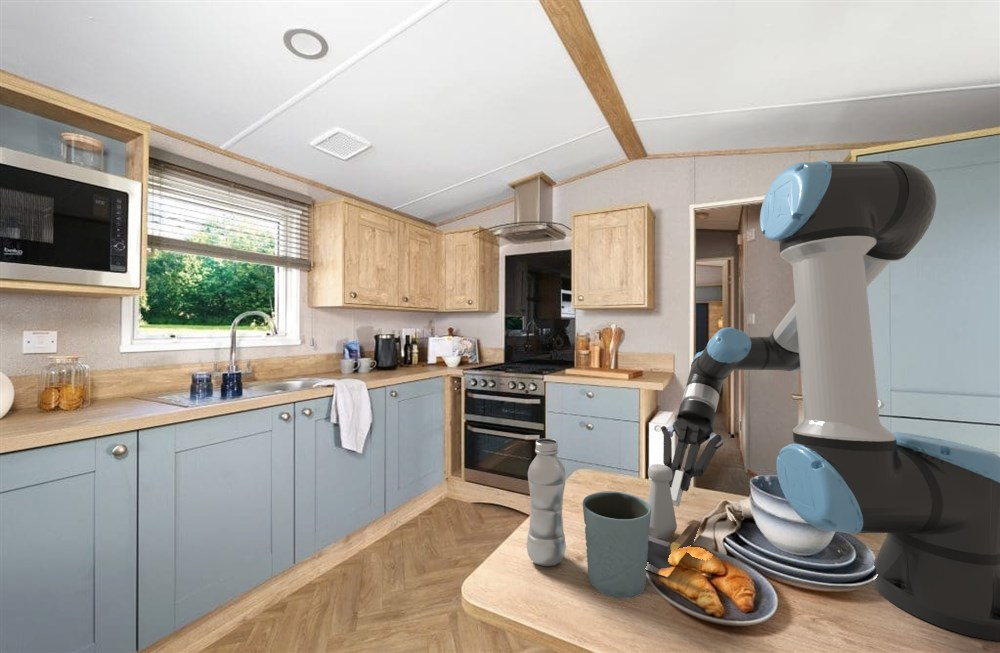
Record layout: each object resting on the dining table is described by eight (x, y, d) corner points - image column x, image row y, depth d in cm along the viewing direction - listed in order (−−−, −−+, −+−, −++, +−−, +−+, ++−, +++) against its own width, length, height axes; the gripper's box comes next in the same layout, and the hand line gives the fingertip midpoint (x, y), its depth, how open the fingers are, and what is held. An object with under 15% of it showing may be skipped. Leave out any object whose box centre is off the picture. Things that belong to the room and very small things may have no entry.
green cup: (650, 570, 68) (651, 495, 68) (650, 610, 58) (651, 524, 58) (587, 557, 71) (587, 487, 71) (577, 594, 62) (577, 512, 61)
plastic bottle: (518, 560, 70) (518, 441, 70) (545, 545, 75) (545, 434, 75) (547, 577, 66) (547, 449, 65) (574, 560, 70) (574, 441, 70)
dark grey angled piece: (700, 534, 79) (700, 508, 79) (667, 578, 65) (667, 546, 65) (640, 516, 86) (640, 492, 86) (600, 552, 73) (600, 523, 73)
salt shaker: (671, 528, 81) (671, 461, 81) (681, 543, 76) (681, 472, 76) (640, 527, 82) (640, 460, 82) (647, 542, 76) (648, 470, 76)
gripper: (731, 421, 95) (712, 521, 83) (672, 413, 104) (646, 502, 91) (726, 401, 91) (704, 503, 79) (665, 394, 100) (637, 485, 87)
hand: (673, 502), depth 85 cm, fingers closed
